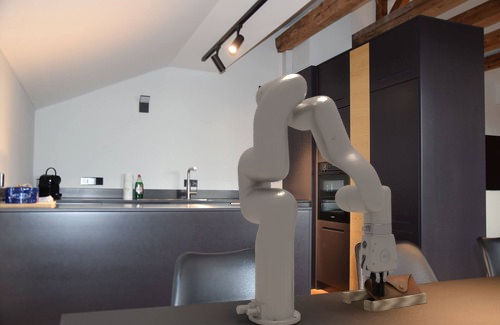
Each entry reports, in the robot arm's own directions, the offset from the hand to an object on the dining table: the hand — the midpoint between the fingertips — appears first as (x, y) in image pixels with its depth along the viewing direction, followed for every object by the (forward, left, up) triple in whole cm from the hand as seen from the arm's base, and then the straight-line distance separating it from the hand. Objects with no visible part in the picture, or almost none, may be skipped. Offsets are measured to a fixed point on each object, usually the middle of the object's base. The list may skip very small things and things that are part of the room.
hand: (378, 295), depth 120 cm
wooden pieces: (+2, 0, -2) cm, 3 cm away
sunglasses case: (+9, +2, -3) cm, 10 cm away
